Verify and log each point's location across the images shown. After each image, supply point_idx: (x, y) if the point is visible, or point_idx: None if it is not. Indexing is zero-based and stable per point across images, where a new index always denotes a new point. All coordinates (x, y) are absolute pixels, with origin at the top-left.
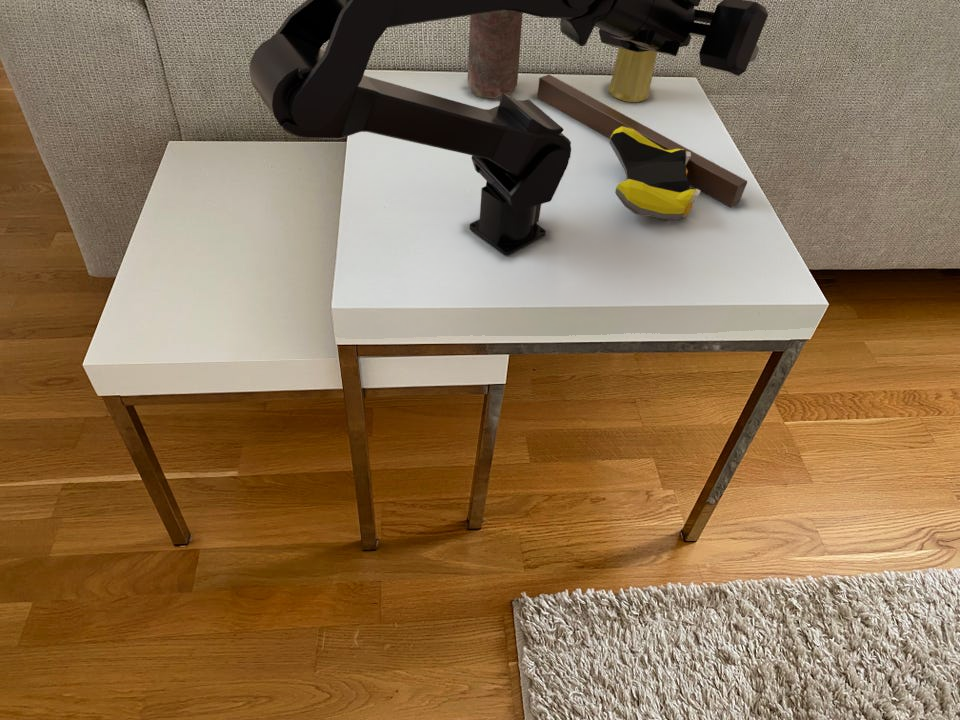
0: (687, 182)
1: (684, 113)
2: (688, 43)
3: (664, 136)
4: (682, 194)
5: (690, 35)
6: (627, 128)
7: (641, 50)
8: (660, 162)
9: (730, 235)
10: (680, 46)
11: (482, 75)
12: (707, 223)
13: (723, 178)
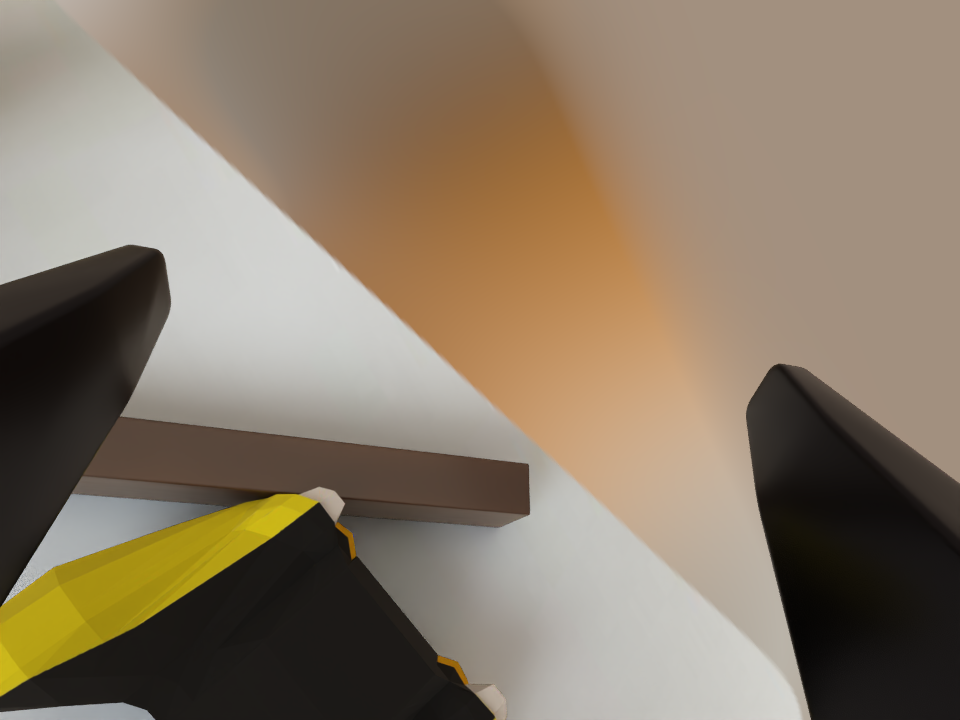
0: (436, 678)
1: (105, 147)
2: (166, 299)
3: (172, 423)
4: None
5: (153, 254)
6: (34, 621)
7: None
8: (276, 631)
9: (575, 654)
10: (135, 383)
11: None
12: (504, 661)
13: (475, 509)
